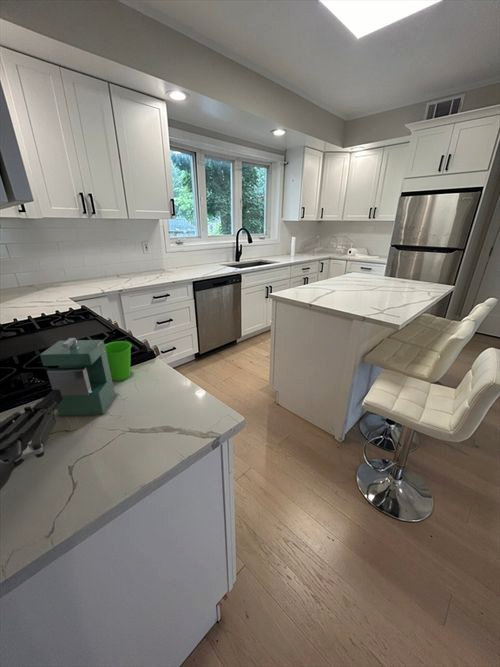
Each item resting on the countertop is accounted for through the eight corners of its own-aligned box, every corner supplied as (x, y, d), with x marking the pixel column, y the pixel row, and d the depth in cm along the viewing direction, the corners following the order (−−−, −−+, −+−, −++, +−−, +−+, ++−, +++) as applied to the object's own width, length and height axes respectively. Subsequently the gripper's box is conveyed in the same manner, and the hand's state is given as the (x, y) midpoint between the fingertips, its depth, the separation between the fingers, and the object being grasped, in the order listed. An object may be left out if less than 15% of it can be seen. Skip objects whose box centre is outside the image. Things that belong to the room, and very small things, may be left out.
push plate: (54, 396, 66) (46, 371, 64) (58, 392, 68) (50, 367, 65) (89, 395, 67) (82, 370, 64) (92, 391, 68) (86, 367, 66)
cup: (99, 383, 85) (91, 351, 81) (120, 369, 93) (114, 339, 89) (122, 388, 83) (116, 355, 78) (142, 373, 91) (137, 343, 86)
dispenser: (59, 417, 70) (36, 346, 63) (75, 398, 78) (57, 332, 70) (104, 416, 71) (87, 345, 63) (115, 397, 78) (102, 332, 71)
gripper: (-75, 512, 40) (31, 409, 62) (18, 507, 41) (91, 407, 63) (-100, 475, 37) (21, 380, 59) (2, 470, 38) (84, 379, 60)
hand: (57, 394), depth 61 cm, fingers closed
